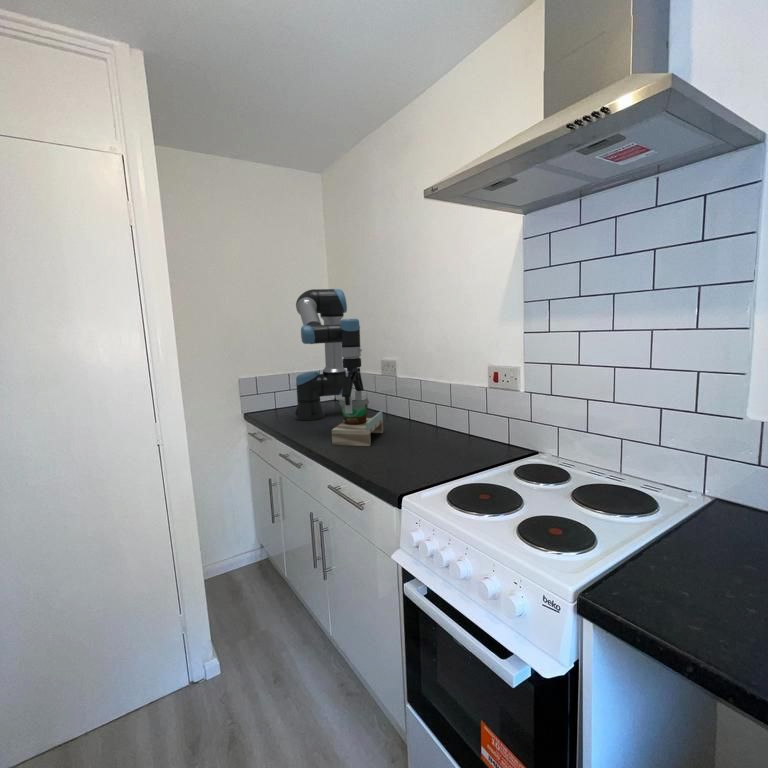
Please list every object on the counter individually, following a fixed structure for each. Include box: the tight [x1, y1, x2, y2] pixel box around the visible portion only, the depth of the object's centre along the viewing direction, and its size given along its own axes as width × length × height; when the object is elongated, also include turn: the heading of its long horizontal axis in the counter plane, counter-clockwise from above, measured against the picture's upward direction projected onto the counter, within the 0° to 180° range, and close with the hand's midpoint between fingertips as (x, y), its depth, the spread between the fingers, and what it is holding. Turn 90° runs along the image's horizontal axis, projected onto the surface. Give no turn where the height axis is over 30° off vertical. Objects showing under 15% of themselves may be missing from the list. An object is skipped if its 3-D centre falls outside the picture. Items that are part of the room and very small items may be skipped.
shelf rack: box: [331, 410, 384, 447], centre depth 171 cm, size 22×15×9 cm
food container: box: [338, 397, 370, 425], centre depth 170 cm, size 12×6×10 cm, turn 91°
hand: (354, 409), depth 171 cm, fingers open, 13 cm apart
